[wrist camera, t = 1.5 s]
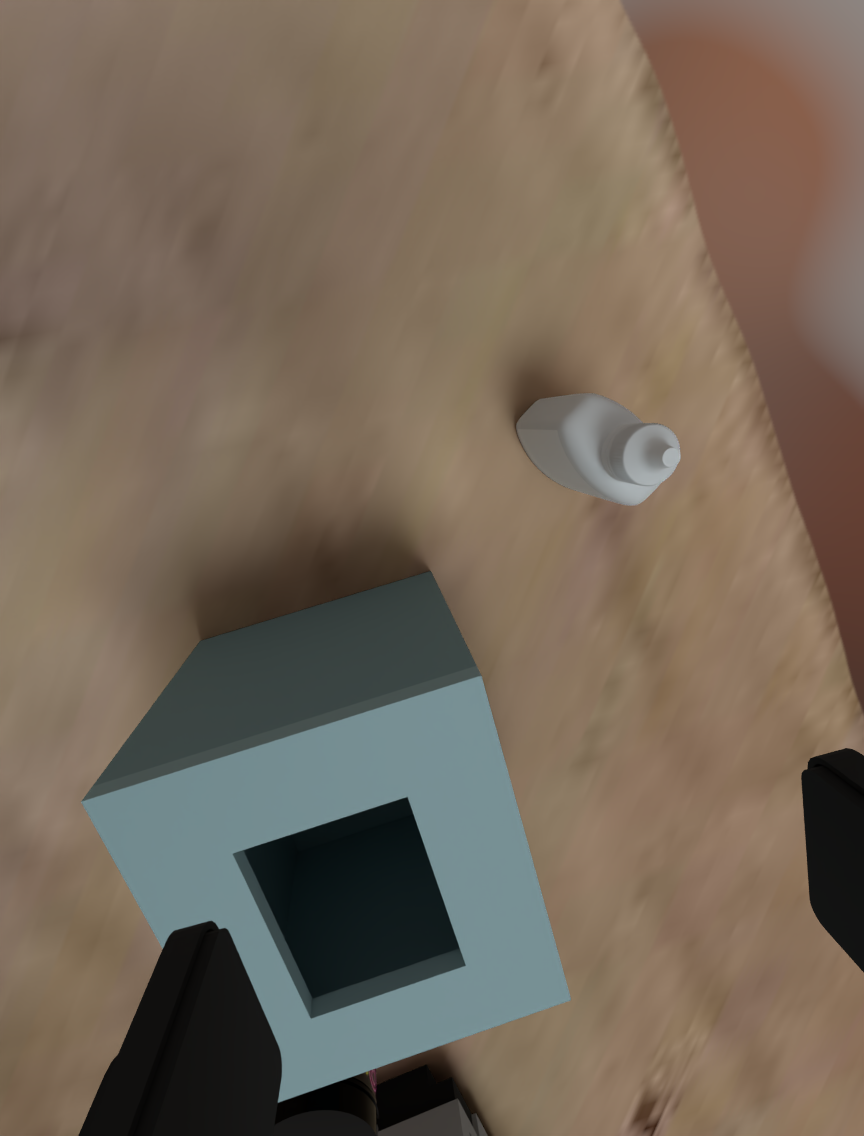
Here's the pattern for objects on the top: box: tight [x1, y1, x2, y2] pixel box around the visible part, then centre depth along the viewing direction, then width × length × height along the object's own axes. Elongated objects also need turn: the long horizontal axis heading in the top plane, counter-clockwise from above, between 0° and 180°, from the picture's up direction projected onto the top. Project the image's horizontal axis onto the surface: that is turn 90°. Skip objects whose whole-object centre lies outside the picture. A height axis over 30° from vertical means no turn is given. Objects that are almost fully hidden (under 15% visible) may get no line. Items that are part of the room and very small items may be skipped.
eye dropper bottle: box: [516, 393, 680, 506], centre depth 26 cm, size 4×6×12 cm
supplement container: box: [273, 1069, 378, 1136], centre depth 34 cm, size 7×7×10 cm
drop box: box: [81, 571, 571, 1102], centre depth 27 cm, size 16×14×14 cm
